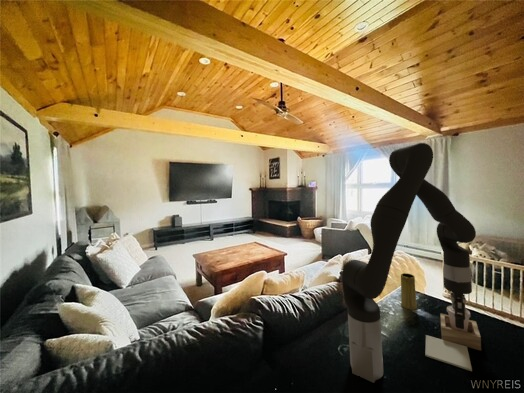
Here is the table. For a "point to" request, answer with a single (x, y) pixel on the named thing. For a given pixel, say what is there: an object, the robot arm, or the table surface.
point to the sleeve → (461, 333)
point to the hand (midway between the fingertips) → (458, 322)
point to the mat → (448, 352)
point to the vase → (408, 291)
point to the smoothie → (452, 318)
